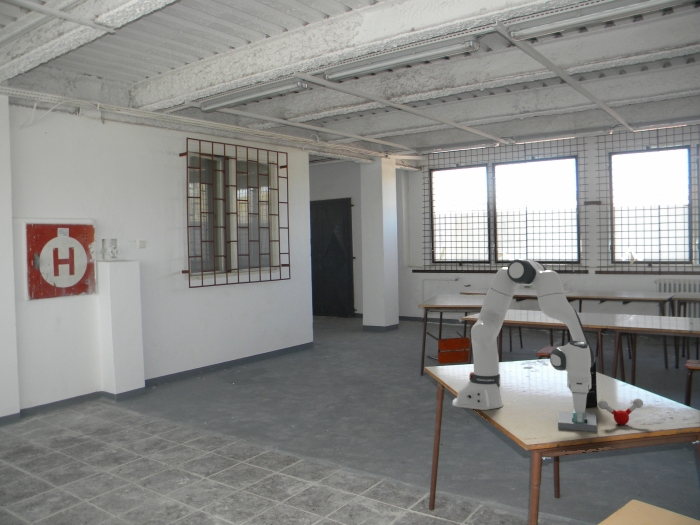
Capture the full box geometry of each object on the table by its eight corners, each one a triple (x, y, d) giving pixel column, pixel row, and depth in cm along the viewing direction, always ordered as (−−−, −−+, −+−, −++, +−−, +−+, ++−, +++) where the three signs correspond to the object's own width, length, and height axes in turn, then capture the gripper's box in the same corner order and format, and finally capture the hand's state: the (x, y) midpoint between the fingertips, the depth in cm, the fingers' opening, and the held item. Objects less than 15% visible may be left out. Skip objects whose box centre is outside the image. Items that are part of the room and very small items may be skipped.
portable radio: (583, 408, 256) (582, 351, 255) (574, 405, 261) (573, 349, 261) (598, 407, 258) (597, 350, 257) (589, 403, 264) (588, 348, 263)
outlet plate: (558, 428, 230) (557, 421, 230) (559, 417, 245) (558, 410, 245) (596, 431, 225) (596, 424, 225) (595, 419, 240) (595, 413, 240)
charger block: (573, 428, 230) (573, 412, 230) (573, 425, 234) (573, 409, 234) (584, 429, 229) (584, 413, 229) (584, 425, 233) (583, 410, 232)
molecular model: (640, 421, 236) (640, 397, 235) (647, 426, 230) (646, 400, 230) (596, 422, 236) (595, 398, 236) (601, 427, 230) (601, 401, 230)
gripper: (570, 376, 242) (571, 410, 242) (570, 388, 222) (571, 424, 223) (587, 377, 239) (587, 411, 240) (588, 389, 220) (589, 426, 221)
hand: (579, 417), depth 231 cm, fingers open, 8 cm apart
